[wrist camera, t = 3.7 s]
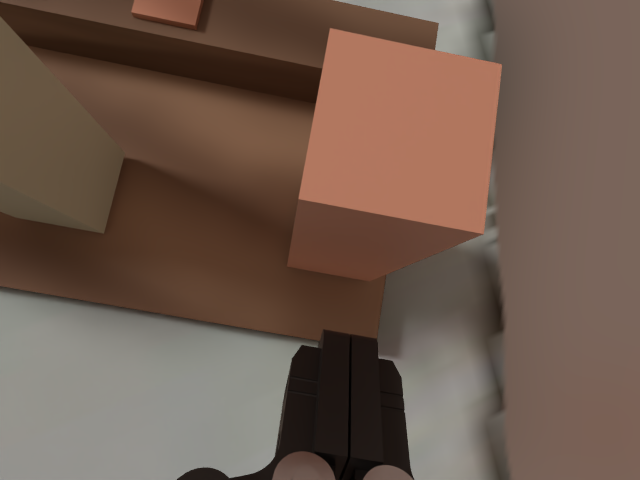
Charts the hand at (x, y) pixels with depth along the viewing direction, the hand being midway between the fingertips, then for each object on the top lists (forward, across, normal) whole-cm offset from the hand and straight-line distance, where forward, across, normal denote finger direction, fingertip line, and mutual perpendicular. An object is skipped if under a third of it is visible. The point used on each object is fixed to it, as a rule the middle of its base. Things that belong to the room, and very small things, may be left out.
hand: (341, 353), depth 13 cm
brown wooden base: (+10, +11, +1) cm, 15 cm away
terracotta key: (+7, 0, +1) cm, 7 cm away
